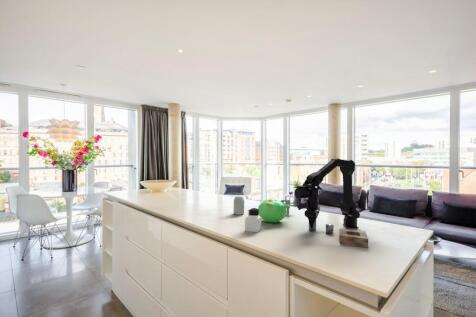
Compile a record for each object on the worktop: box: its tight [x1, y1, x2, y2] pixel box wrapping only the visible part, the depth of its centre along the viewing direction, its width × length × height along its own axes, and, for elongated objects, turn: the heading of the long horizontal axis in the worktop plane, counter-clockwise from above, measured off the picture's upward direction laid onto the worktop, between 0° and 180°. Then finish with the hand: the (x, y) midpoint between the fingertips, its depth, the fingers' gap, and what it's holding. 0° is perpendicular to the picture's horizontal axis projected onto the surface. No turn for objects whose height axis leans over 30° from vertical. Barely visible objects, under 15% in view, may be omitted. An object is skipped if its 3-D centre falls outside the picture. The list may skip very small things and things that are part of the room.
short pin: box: [325, 223, 335, 235], centre depth 130 cm, size 4×4×4 cm
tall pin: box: [308, 219, 317, 233], centre depth 134 cm, size 4×4×8 cm
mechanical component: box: [280, 199, 296, 215], centre depth 172 cm, size 3×10×10 cm, turn 78°
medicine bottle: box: [244, 207, 262, 233], centre depth 133 cm, size 7×7×12 cm
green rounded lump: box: [257, 197, 291, 223], centre depth 151 cm, size 18×17×15 cm
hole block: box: [338, 228, 369, 248], centre depth 118 cm, size 12×12×4 cm
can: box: [233, 196, 245, 216], centre depth 170 cm, size 8×8×12 cm
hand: (312, 225), depth 134 cm, fingers open, 9 cm apart
